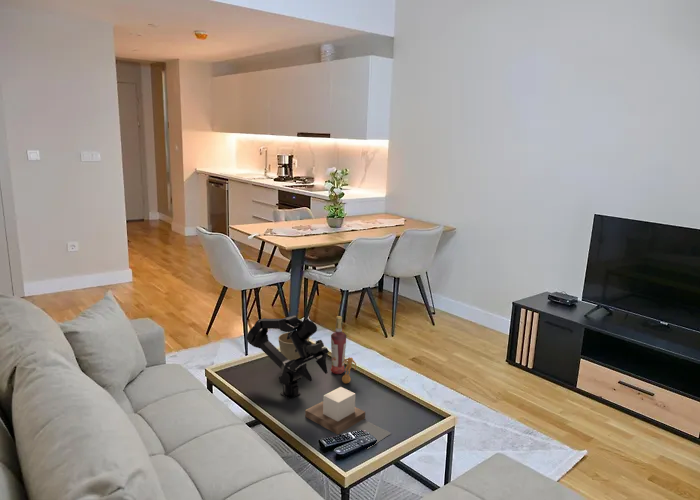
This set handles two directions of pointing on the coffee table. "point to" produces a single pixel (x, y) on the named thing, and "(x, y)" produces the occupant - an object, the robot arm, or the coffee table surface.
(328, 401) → the beige block
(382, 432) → the mat
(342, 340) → the liquor
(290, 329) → the robot arm
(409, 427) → the coffee table surface
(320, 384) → the coffee table surface
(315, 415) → the walnut board
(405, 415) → the coffee table surface
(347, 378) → the figurine
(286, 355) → the plant pot
